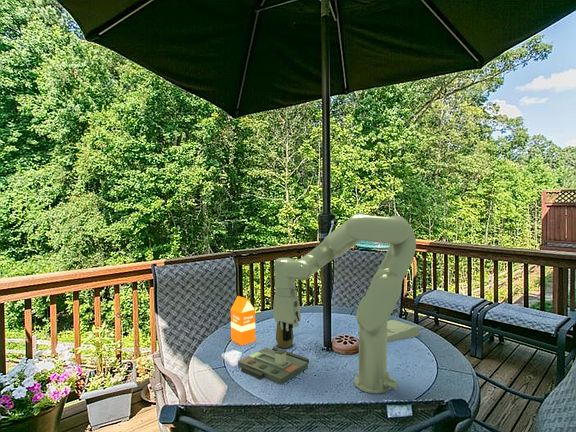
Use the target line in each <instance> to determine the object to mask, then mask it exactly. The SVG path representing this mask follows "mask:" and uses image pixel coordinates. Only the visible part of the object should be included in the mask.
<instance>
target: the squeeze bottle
mask: <svg viewBox="0 0 576 432" xmlns="http://www.w3.org/2000/svg"><path fill="white" fill-rule="evenodd" d="M293 329H294V328H293ZM293 329H291V334H292V339H291V340H289V341H287V342H286V341H283V330H282V329H281V326H280V325H279V324H278V323H277V322H276V329H275V340H276V341H275V342H276V344H277V346H278V348H280V349H281V348H283V349H289V348H290V347H292V344H293V341H294V337H295V336H294V330H293Z"/></svg>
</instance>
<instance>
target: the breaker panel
mask: <svg viewBox="0 0 576 432" xmlns="http://www.w3.org/2000/svg"><path fill="white" fill-rule="evenodd" d="M237 366H238V367H239V368H241V367H243V366H247V367H249V368H251V369H254V370H256V371H259V372H261V373H263V374H264V378H265V379H266V380H270V381H272V382H274V383H276V384H279V385H283V384H284V383H285V382H286V383H287V381H289V380H291V379H292V378H294V377H295V376H297V375H299V374H301V373H302V372H303V371H304V370H306V369H308V367H309V363H308V362H305V361H302V360H300V359H297V358H294V357H291V356H288V355H286V364H285V365H283V366H280V365H277V364H275V351H274V350H272V348H268V347H264V348H262V349H260V350H258V351H256V352H253V353H252V354H250V355H248V356H246V357H244V358H242V359H239V360H238V361H237Z"/></svg>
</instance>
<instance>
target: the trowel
mask: <svg viewBox="0 0 576 432" xmlns="http://www.w3.org/2000/svg"><path fill="white" fill-rule="evenodd" d="M419 336H420V325H411V324H409V323H408V324H407V323H405V322H402V321H399V320H395V319H390V320H389V319H388V320H387V343H390V342H393V341H398V340H399V341H400V340H404V339H411V338H415V337H416V338H417V337H419Z"/></svg>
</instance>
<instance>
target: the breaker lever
mask: <svg viewBox="0 0 576 432" xmlns="http://www.w3.org/2000/svg"><path fill="white" fill-rule="evenodd" d="M278 349H279V350H277V351H275V364H277V365H280V366H283V365H285V364H286V350H284V349H281V348H278Z"/></svg>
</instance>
